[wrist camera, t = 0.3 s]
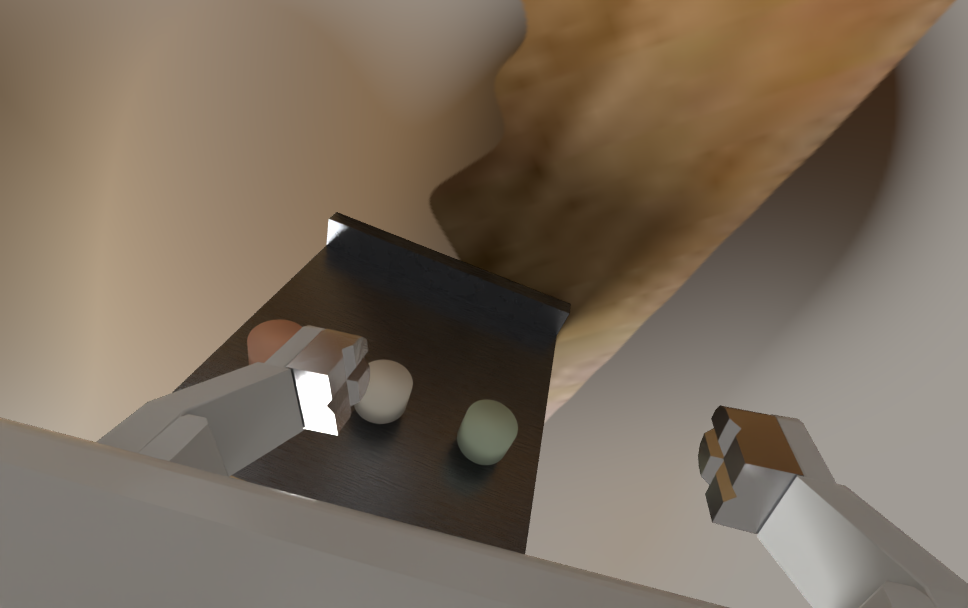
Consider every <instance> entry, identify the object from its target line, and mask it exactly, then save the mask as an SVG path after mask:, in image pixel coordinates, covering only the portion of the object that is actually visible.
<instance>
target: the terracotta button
mask: <svg viewBox="0 0 968 608" xmlns="http://www.w3.org/2000/svg"><path fill="white" fill-rule="evenodd" d="M301 328H302V326H300V325H299V324H297V323H295V322H292V321H289V320H281V319H278V320H270V321H266V322H263V323H261V324H259V325H257V326H256V327H255V328H253V329H252V330H251V332H250V333H249V335H248V338H247V346H248V359H249V365H251V364H254V363H257V362H261V363H265V362H266V361H267V360H268V359H269V358H270V357H271V356H272V355H273V354H274V353H275V352H276V351H278V350H279V349H280V348H281V347H282V346H283V345H284V344H285V343H286V342H287V341H288V340H289V339H290V338H291V337H293V336H294V335H295V334H296V333H297V332H298V331H299V330H300V329H301Z"/></svg>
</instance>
